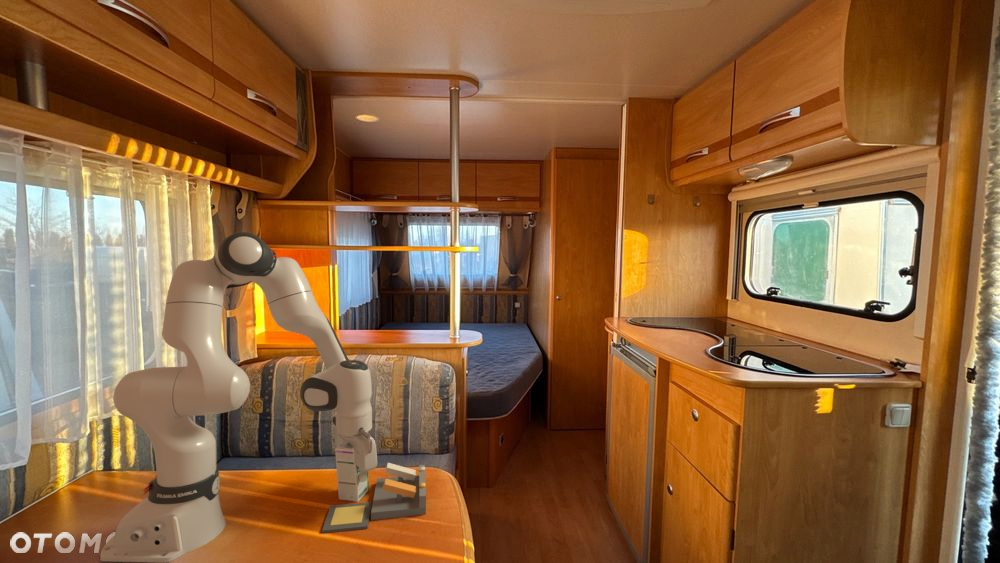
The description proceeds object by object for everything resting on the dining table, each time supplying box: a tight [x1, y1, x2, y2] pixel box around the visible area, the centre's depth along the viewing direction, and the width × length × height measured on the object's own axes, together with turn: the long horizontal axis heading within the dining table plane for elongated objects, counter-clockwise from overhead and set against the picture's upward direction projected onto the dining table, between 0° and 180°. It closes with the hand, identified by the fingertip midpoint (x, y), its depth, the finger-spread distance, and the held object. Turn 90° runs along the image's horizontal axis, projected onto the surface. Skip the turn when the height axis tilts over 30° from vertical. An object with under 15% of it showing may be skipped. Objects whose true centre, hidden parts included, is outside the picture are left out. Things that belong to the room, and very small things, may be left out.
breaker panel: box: [370, 464, 427, 522], centre depth 113 cm, size 13×16×6 cm
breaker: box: [384, 462, 417, 481], centre depth 118 cm, size 8×3×2 cm, turn 101°
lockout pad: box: [321, 501, 373, 534], centre depth 105 cm, size 10×10×1 cm
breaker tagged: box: [383, 479, 416, 498], centre depth 110 cm, size 8×3×2 cm, turn 101°
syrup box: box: [334, 440, 370, 503], centre depth 114 cm, size 6×6×14 cm
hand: (355, 474), depth 115 cm, fingers closed on syrup box, 7 cm apart
